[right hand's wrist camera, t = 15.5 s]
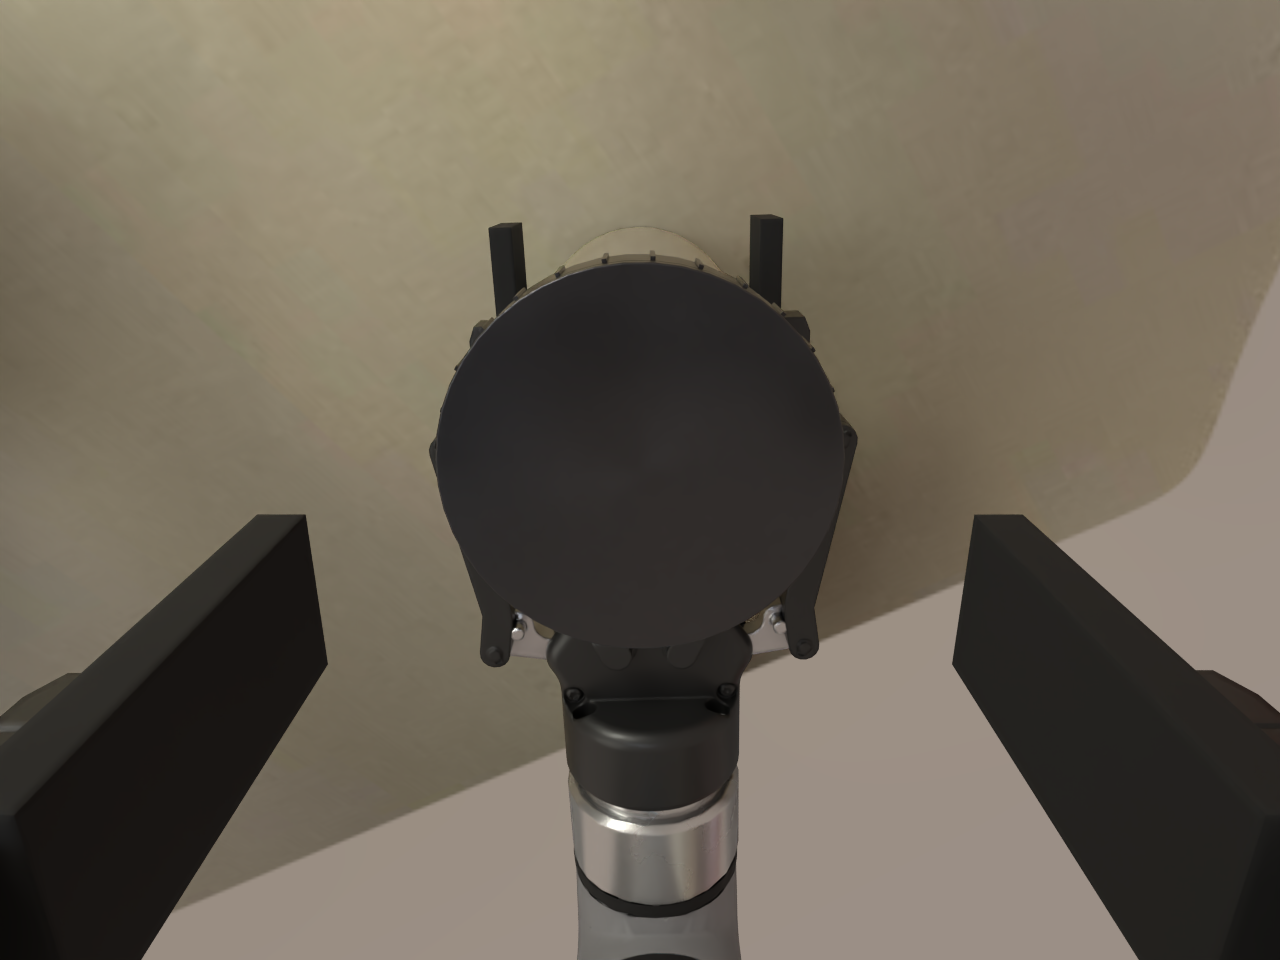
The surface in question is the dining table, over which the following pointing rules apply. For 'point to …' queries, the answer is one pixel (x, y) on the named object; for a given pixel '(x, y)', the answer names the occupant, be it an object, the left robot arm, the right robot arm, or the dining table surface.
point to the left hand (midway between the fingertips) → (635, 221)
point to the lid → (640, 452)
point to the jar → (640, 246)
